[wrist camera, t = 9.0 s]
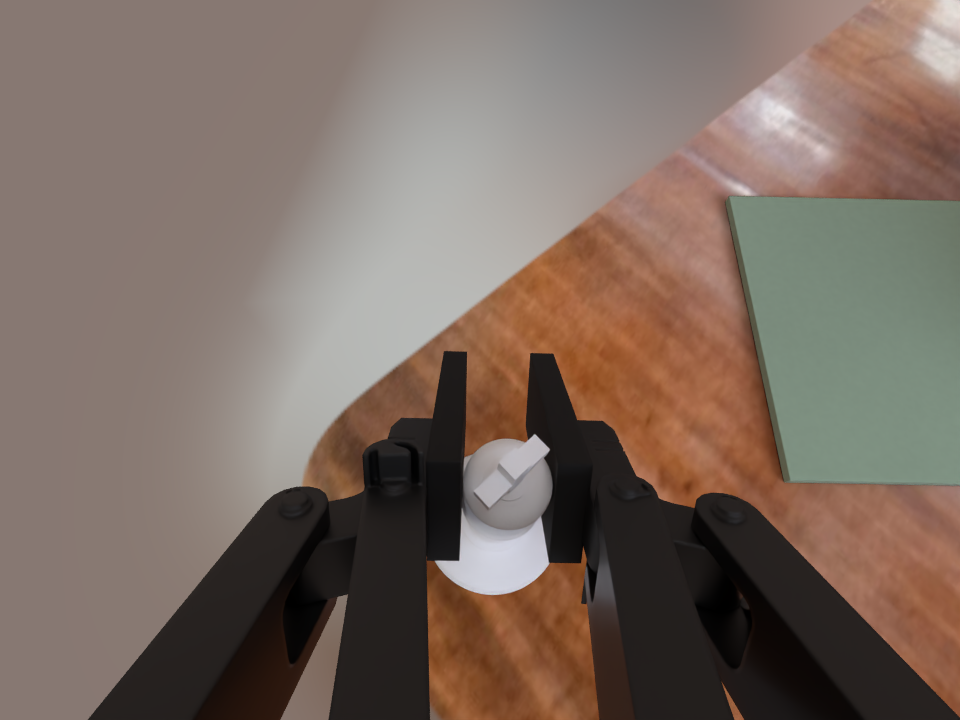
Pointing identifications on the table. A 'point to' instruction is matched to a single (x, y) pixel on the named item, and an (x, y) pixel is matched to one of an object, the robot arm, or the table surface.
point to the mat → (856, 334)
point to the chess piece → (502, 517)
